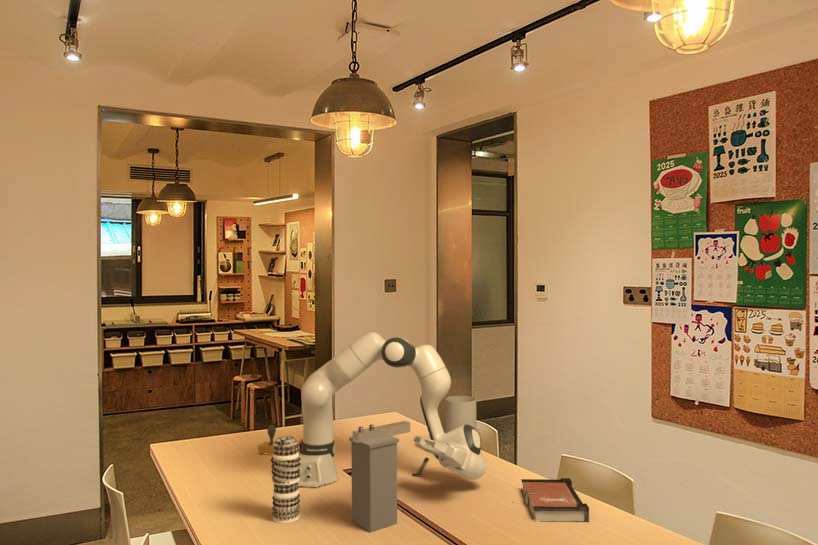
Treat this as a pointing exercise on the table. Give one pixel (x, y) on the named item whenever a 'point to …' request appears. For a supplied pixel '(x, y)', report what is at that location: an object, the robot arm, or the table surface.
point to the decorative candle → (285, 480)
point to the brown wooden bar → (380, 431)
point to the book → (554, 501)
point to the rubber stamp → (268, 446)
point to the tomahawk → (421, 468)
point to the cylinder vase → (460, 412)
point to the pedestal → (374, 483)
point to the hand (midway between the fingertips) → (424, 441)
